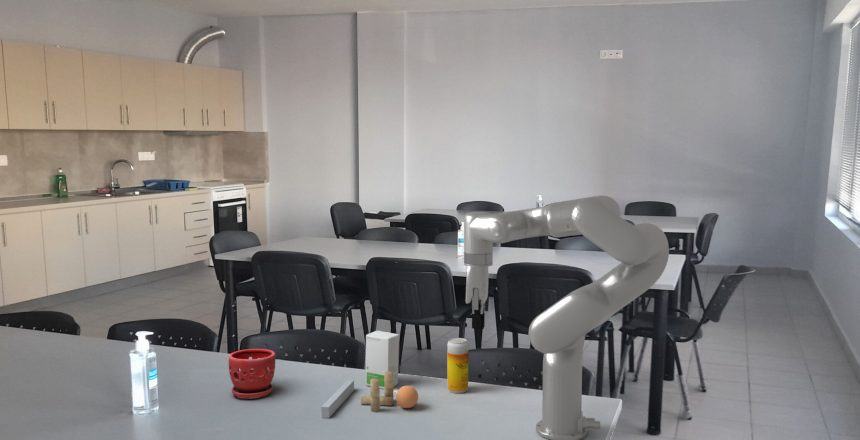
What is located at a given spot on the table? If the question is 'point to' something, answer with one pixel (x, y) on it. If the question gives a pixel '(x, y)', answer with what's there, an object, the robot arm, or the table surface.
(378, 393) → the rear pin left
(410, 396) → the ball
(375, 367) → the skincare box
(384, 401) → the front pin
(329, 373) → the table surface
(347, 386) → the back rail
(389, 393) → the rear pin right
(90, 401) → the table surface
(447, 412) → the table surface
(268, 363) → the plant pot
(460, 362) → the yellow canister
